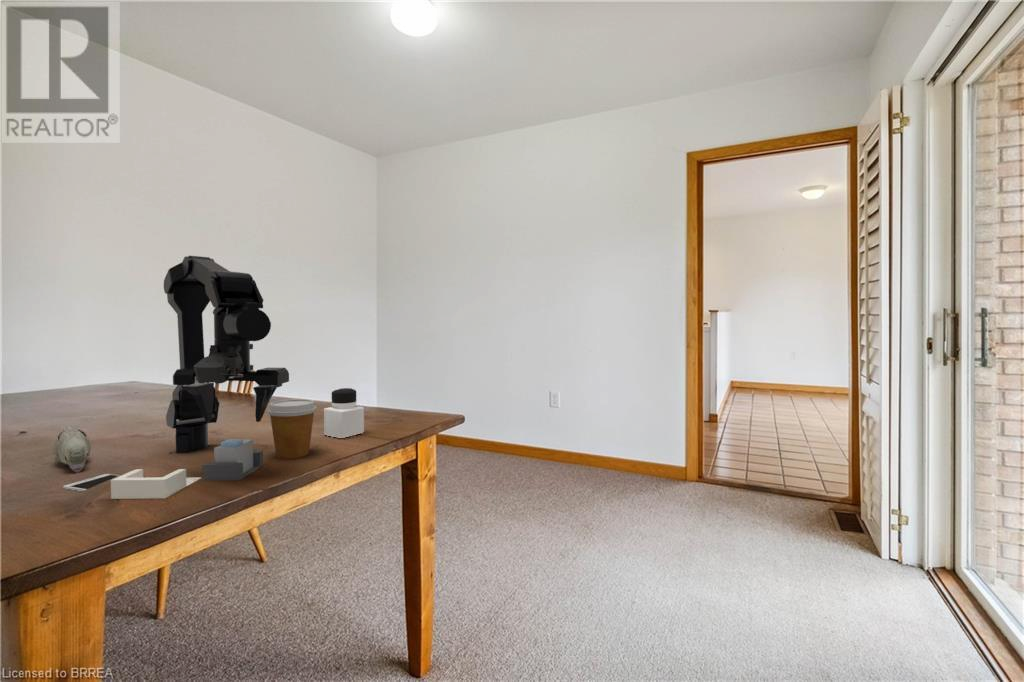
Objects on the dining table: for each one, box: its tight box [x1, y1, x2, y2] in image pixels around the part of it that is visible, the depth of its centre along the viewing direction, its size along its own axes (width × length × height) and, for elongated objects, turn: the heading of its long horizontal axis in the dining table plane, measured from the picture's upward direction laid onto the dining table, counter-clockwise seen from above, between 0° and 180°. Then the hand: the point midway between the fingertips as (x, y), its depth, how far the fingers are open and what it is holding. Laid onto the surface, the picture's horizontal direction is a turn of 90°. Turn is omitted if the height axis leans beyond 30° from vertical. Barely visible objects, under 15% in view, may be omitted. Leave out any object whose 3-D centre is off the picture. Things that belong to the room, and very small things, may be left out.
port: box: [110, 468, 203, 500], centre depth 82 cm, size 10×8×4 cm
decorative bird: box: [53, 422, 92, 474], centre depth 97 cm, size 5×16×7 cm, turn 47°
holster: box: [202, 450, 264, 481], centre depth 90 cm, size 9×6×4 cm
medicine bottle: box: [323, 387, 365, 439], centre depth 123 cm, size 7×7×12 cm
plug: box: [213, 438, 254, 473], centre depth 90 cm, size 6×4×6 cm, turn 3°
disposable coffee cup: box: [266, 398, 317, 459], centre depth 102 cm, size 10×10×12 cm
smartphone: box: [62, 473, 120, 492], centre depth 84 cm, size 7×16×1 cm, turn 73°
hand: (233, 421), depth 90 cm, fingers open, 9 cm apart
